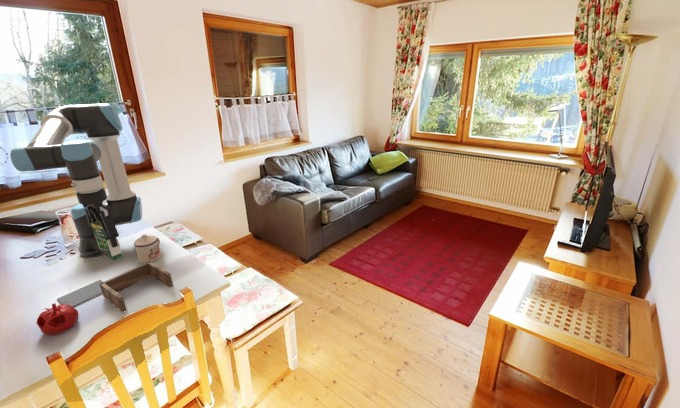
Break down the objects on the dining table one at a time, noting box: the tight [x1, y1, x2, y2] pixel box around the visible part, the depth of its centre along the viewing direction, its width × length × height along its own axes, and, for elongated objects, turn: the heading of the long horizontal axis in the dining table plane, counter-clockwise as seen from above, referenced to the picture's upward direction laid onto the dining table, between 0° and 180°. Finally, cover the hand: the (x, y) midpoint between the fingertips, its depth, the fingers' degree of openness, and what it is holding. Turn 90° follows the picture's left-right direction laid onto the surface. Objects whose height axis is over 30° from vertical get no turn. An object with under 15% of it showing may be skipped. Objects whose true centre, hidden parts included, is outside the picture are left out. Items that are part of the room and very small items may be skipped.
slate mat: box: [56, 279, 104, 308], centre depth 120 cm, size 10×14×1 cm
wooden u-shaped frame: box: [100, 261, 174, 313], centre depth 119 cm, size 15×18×6 cm
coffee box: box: [91, 221, 123, 261], centre depth 111 cm, size 8×3×13 cm, turn 62°
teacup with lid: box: [133, 233, 162, 264], centre depth 142 cm, size 12×9×12 cm
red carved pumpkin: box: [36, 301, 80, 336], centre depth 102 cm, size 10×10×9 cm
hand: (110, 250), depth 112 cm, fingers closed on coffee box, 8 cm apart
